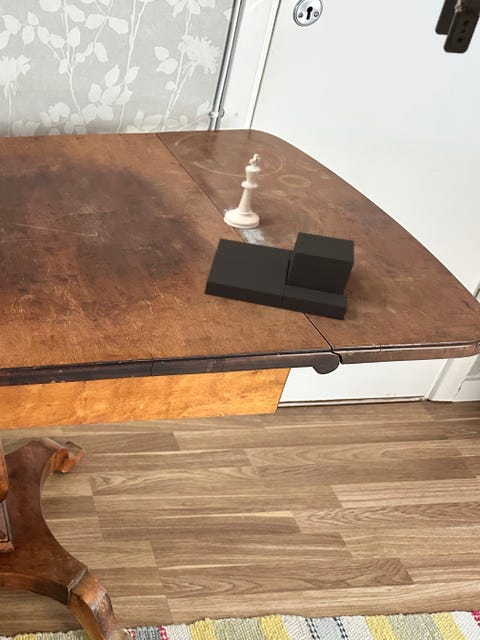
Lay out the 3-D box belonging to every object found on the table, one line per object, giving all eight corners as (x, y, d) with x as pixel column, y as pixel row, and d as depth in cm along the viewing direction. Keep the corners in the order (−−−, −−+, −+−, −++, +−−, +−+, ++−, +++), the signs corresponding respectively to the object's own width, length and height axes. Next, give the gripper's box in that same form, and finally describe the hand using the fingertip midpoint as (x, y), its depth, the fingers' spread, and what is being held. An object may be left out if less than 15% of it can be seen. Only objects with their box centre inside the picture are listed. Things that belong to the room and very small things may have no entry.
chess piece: (266, 223, 102) (282, 156, 96) (242, 231, 100) (258, 164, 94) (240, 210, 105) (254, 145, 99) (216, 218, 103) (230, 152, 97)
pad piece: (339, 283, 89) (354, 240, 85) (339, 305, 85) (354, 262, 81) (286, 273, 91) (298, 231, 87) (283, 295, 87) (295, 252, 83)
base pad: (343, 271, 91) (347, 259, 90) (343, 320, 82) (347, 307, 81) (217, 249, 96) (220, 237, 95) (204, 293, 87) (206, 281, 86)
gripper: (577, -134, 61) (498, 62, 71) (542, -141, 72) (477, 31, 81) (479, -134, 63) (416, 56, 73) (459, -141, 74) (406, 26, 84)
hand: (449, 42), depth 77 cm, fingers open, 8 cm apart
